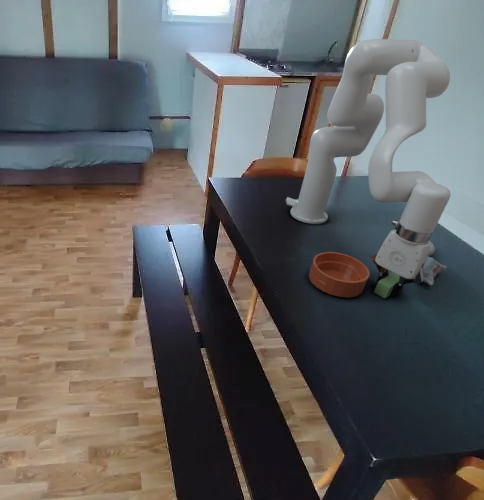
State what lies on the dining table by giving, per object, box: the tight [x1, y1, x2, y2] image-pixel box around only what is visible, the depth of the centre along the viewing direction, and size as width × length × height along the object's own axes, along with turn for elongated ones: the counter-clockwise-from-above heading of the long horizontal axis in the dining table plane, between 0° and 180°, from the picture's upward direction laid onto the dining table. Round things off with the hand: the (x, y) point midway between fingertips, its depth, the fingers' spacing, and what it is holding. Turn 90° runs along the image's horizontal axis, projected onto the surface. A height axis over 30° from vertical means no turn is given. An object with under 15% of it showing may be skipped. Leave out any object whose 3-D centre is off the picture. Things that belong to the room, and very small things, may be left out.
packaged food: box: [422, 256, 448, 286], centre depth 116 cm, size 9×12×5 cm
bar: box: [373, 272, 400, 299], centre depth 110 cm, size 8×3×4 cm, turn 126°
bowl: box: [308, 251, 371, 298], centre depth 111 cm, size 14×14×6 cm
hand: (387, 289), depth 110 cm, fingers closed on bar, 3 cm apart
